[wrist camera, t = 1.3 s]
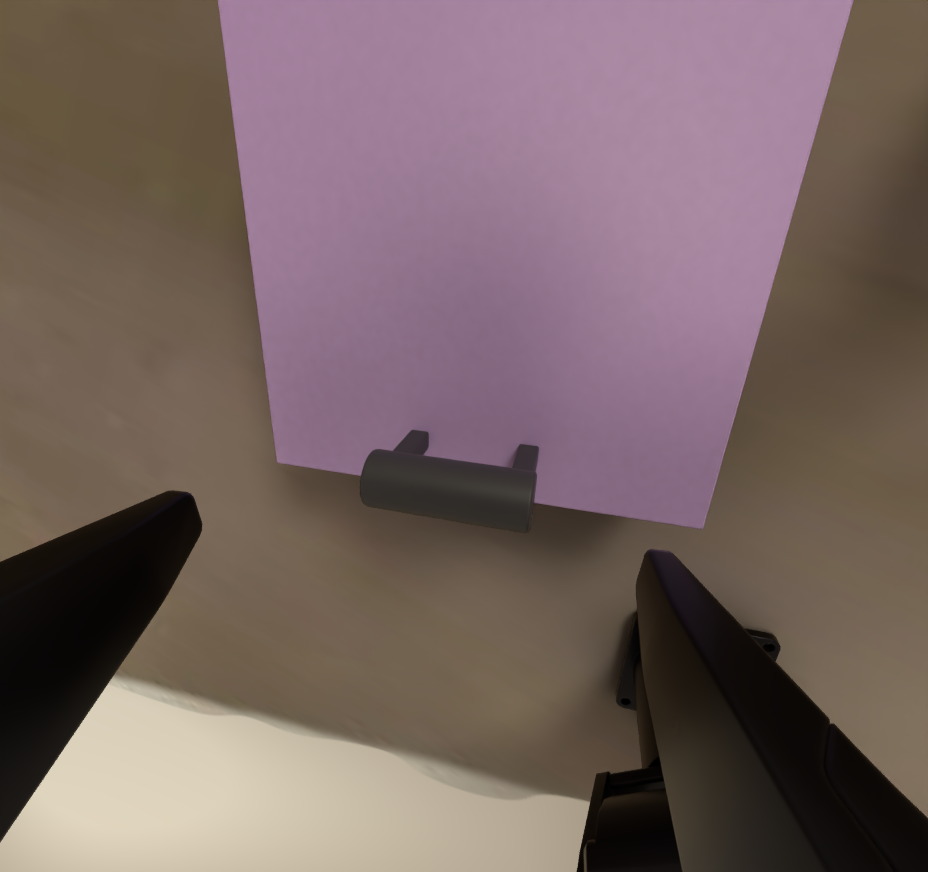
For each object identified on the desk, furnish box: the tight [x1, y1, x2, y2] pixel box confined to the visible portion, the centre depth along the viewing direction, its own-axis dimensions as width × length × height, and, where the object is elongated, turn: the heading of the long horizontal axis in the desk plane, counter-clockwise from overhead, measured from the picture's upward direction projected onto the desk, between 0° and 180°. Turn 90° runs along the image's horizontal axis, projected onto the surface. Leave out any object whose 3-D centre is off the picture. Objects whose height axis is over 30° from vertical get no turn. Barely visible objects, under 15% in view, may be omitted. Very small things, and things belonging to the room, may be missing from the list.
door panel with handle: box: [218, 0, 853, 533], centre depth 13 cm, size 15×16×5 cm
